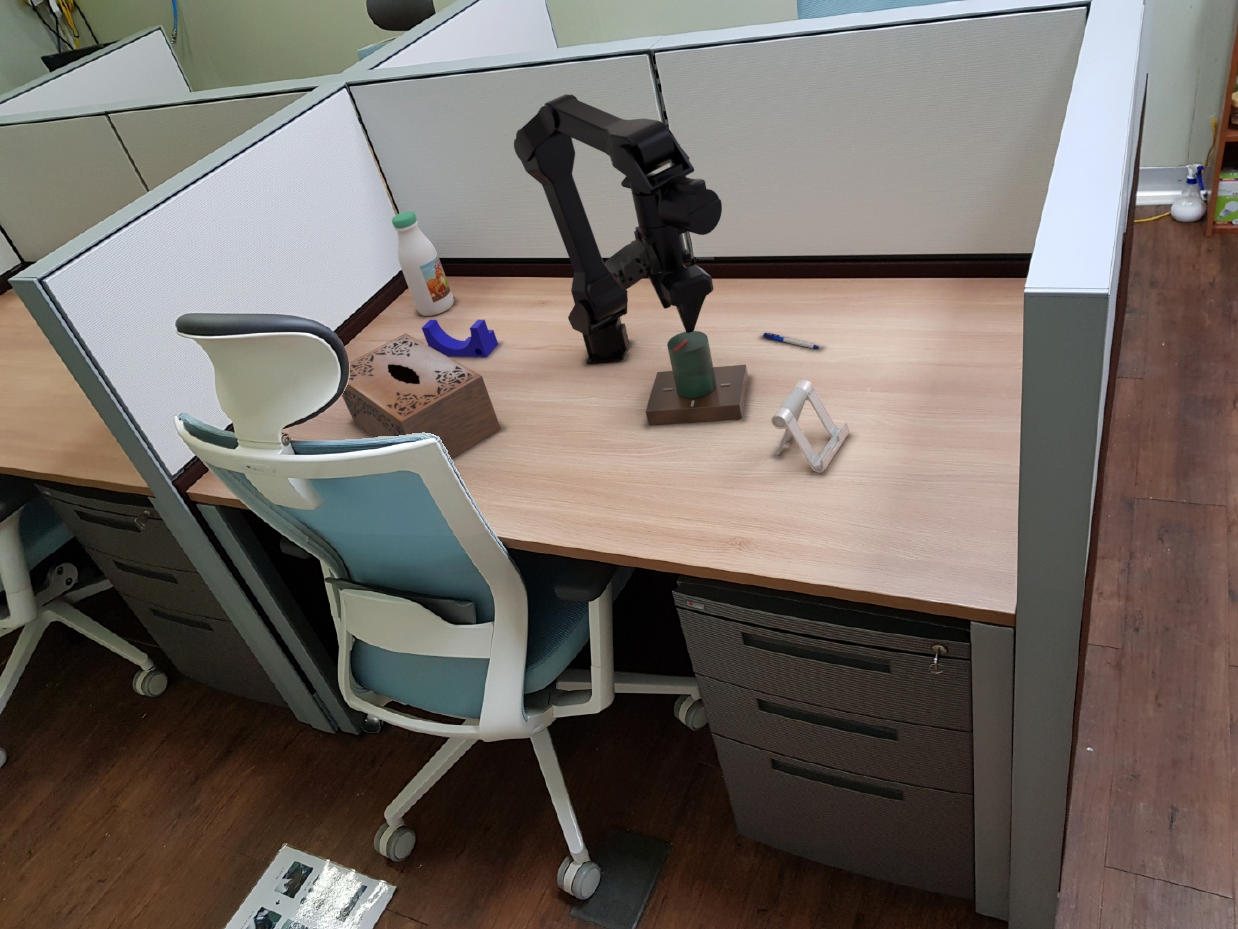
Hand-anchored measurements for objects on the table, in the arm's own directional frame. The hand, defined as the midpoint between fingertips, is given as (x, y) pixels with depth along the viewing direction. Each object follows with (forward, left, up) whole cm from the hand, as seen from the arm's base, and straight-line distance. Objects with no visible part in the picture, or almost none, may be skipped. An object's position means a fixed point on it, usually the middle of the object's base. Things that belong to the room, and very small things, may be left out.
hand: (678, 319), depth 136 cm
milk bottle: (-59, +39, -13) cm, 72 cm away
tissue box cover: (-45, -4, -13) cm, 47 cm away
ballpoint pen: (+14, +12, -13) cm, 23 cm away
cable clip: (-46, +20, -13) cm, 52 cm away
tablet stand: (+18, -17, -13) cm, 28 cm away
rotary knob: (+1, -3, -10) cm, 11 cm away
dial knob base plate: (+1, -3, -13) cm, 13 cm away
